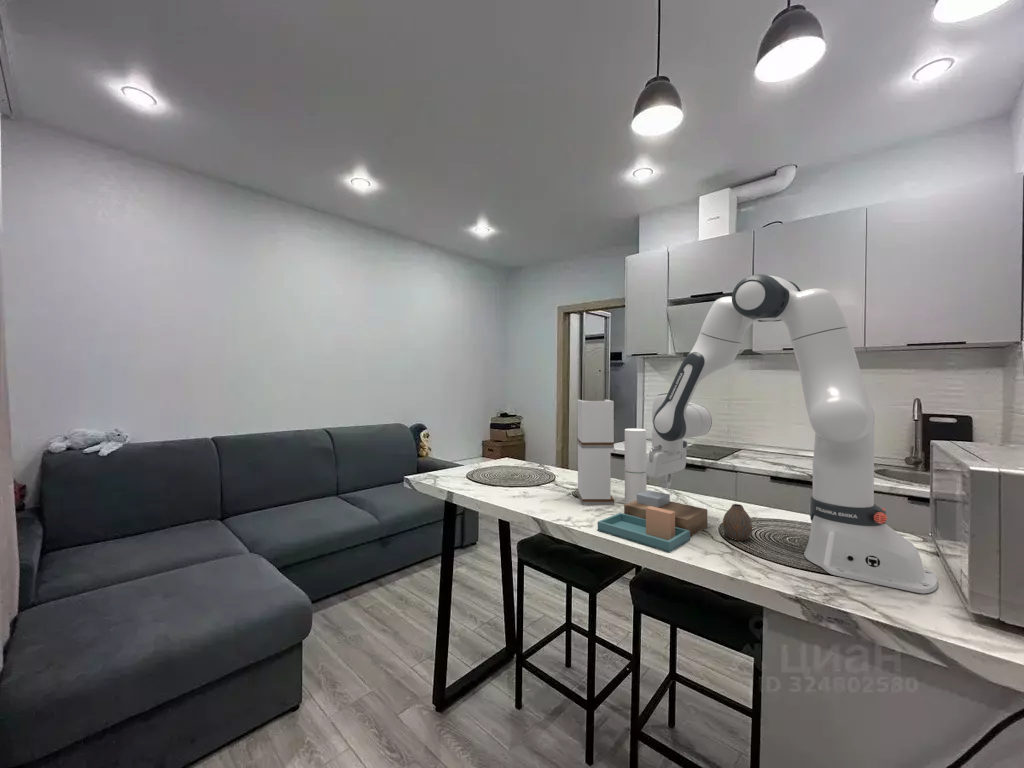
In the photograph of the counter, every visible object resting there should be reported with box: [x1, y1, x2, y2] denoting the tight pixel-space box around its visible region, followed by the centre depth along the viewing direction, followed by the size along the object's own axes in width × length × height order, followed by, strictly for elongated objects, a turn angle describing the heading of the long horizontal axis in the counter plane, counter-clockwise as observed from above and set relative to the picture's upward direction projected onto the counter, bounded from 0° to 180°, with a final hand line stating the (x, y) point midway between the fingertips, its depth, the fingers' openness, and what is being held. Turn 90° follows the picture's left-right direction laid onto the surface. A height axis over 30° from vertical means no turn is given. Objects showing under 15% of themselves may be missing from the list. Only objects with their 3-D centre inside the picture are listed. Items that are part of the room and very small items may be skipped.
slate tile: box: [637, 489, 671, 508], centre depth 127 cm, size 7×7×2 cm
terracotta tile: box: [646, 506, 675, 540], centre depth 112 cm, size 7×7×2 cm
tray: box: [597, 512, 691, 553], centre depth 114 cm, size 21×12×2 cm, turn 43°
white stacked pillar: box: [576, 399, 615, 506], centre depth 147 cm, size 11×11×35 cm
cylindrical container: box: [624, 427, 647, 504], centre depth 145 cm, size 7×7×25 cm
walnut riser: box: [623, 500, 708, 538], centre depth 123 cm, size 19×13×5 cm
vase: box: [722, 503, 753, 541], centre depth 112 cm, size 7×7×9 cm
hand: (665, 487), depth 134 cm, fingers closed
